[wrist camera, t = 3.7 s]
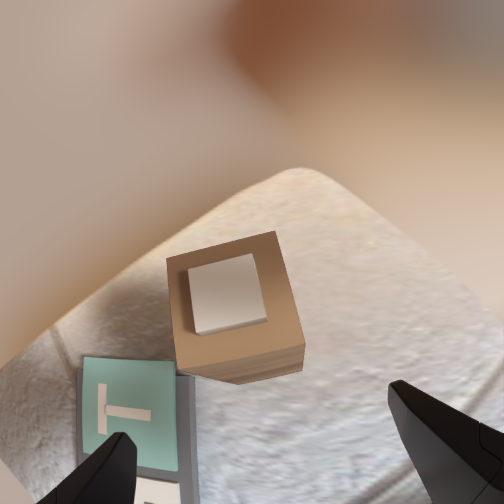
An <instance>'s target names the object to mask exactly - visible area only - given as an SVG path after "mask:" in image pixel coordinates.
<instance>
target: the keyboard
mask: <svg viewBox="0 0 504 504" xmlns="http://www.w3.org/2000/svg"><path fill="white" fill-rule="evenodd" d="M114 432H125V433H127V434H128V436H129V437H130V438H131V439H132V441H133V442H134V443H135V444H136V446H137V481H136V492H135V499H134V504H200V496H199V482H198V465H197V445H196V416H195V377H191V376H176V362H175V361H144V360H122V359H106V358H93V357H84V366H83V369H77V389H76V434H77V454H78V466H79V465H80V464H81V463H82V462H84V461H85V460H86V459H87V458H88V457H89V456H90V455H91V454H92V453H93V452H94V451H95V450H96V449H97V448H98V447H99V446H100V445H102V444H103V443H104V442H105V441H106V440H107V439H108V438H109V437H110V436H111V435H112V434H113V433H114Z"/></svg>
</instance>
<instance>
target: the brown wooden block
mask: <svg viewBox="0 0 504 504" xmlns="http://www.w3.org/2000/svg"><path fill="white" fill-rule="evenodd" d="M166 261H167V275H168V287H169V298H170V309H171V318H172V327H173V336H174V344H175V352H176V359H177V366H178V370H182V371H185V372H189V373H192V374H196V375H200V376H204V377H208V378H212V379H216V380H220V381H224V382H228V383H233V384H237V385H239V384H245V383H250V382H255V381H260V380H264V379H269V378H273V377H278V376H282V375H286V374H291V373H295V372H299V371H302V369H303V361H304V352H305V339H304V335H303V332H302V328H301V324H300V320H299V316H298V312H297V309H296V305H295V301H294V297H293V294H292V290H291V286H290V282H289V279H288V275H287V271H286V268H285V264H284V261H283V257H282V253H281V250H280V246H279V243H278V239H277V235H276V232H275V231H271V232H267V233H263V234H259V235H255V236H251V237H247V238H243V239H239V240H235V241H231V242H227V243H223V244H219V245H216V246H212V247H208V248H204V249H200V250H196V251H192V252H188V253H185V254H181V255H177V256H173V257H169V258H166Z"/></svg>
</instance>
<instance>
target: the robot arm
mask: <svg viewBox="0 0 504 504" xmlns="http://www.w3.org/2000/svg"><path fill="white" fill-rule="evenodd" d="M388 404H389V407H390V410H391V413H392V415H393V418H394V421H395V423H396V426H397V429H398V432H399V435H400V437H401V440H402V442H403V444H404V446H405V448H406V450H407V452H408V454H409V456H410V458H411V460H412V462H413V464H414V466H415V468H416V470H417V472H418V474H419V476H420V478H421V480H422V482H423V484H424V486H425V488H426V490H427V492H428V494H429V496H430V498H431V500H432V502H433V504H504V433H502V432H499V431H497V430H495V429H493V428H491V427H489V426H487V425H485V424H483V423H479V421H477V420H475V419H473V418H471V417H469V416H467V415H465V414H464V413H462V412H460V411H458V410H456V409H454V408H452V407H450V406H449V405H447V404H445V403H443V402H441V401H439V400H437V399H436V398H434V397H432V396H430V395H428V394H427V393H425V392H423V391H421V390H419V389H417V388H416V387H414V386H412V385H410V384H409V383H407V382H405V381H403V380H397V381H394V382H391V383H390V384H389V386H388ZM136 481H137V446H136V444H135V443H134V442H133V441H132V439H131V438H130V437H129V436H128V434H127V433H125V432H114V433H113V434H112V435H111V436H110V437H109V438H108V439H107V440H106V441H105V442H104V443H103V444H102V445H100V446H99V447H98V448H97V449H96V450H95V451H94V452H93V453H92V454H91V455H90V456H89V457H88V458H87V459H86V460H85V461H84V462H82V463H81V464H80V465H79V466H78V467H77V468H76V469H75V470H74V471H73V472H72V473H71V474H70V475H68V476H67V477H66V478H65V479H64V480H63V481H62V482H61V483H60V484H59V485H57V487H55V488H54V489H53V490H52V491H51V492H50V493H48V494H47V495H46V496H45V497H44V498H43V499H41V500H40V501H39V502H37V503H36V504H134V499H135V492H136Z"/></svg>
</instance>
